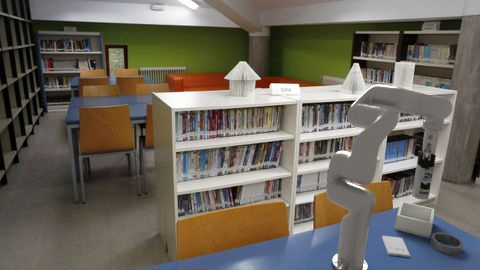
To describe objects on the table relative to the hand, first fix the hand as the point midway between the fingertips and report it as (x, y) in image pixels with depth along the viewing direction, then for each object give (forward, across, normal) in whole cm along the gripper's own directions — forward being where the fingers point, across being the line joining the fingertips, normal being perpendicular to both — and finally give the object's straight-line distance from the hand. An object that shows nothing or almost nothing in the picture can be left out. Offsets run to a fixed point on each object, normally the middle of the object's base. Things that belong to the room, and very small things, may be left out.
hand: (425, 165), depth 152 cm
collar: (+30, -10, -13) cm, 34 cm away
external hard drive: (+30, -22, +5) cm, 38 cm away
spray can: (+15, 0, 0) cm, 15 cm away
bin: (+30, 0, 0) cm, 30 cm away
